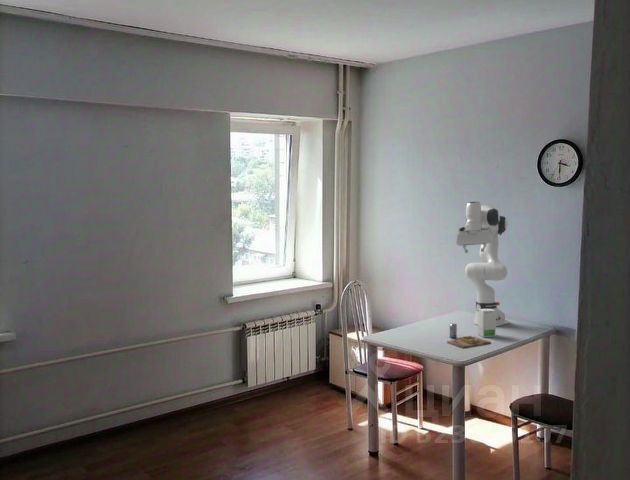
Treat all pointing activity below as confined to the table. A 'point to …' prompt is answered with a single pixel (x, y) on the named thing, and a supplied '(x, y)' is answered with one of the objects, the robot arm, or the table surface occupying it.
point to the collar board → (468, 342)
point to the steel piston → (453, 331)
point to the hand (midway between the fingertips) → (474, 252)
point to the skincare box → (487, 323)
